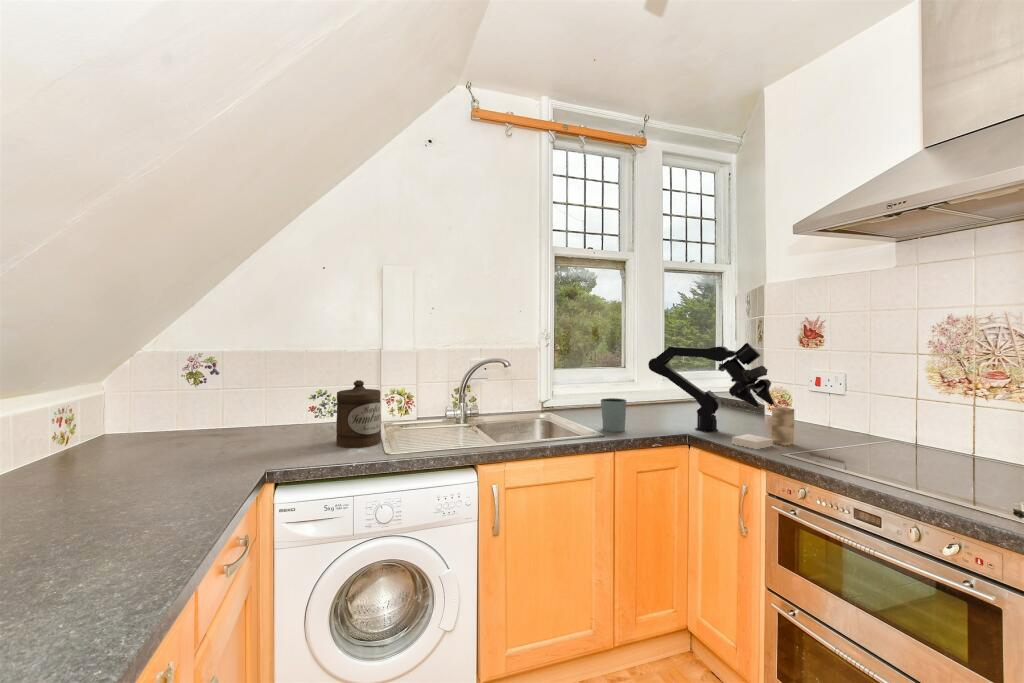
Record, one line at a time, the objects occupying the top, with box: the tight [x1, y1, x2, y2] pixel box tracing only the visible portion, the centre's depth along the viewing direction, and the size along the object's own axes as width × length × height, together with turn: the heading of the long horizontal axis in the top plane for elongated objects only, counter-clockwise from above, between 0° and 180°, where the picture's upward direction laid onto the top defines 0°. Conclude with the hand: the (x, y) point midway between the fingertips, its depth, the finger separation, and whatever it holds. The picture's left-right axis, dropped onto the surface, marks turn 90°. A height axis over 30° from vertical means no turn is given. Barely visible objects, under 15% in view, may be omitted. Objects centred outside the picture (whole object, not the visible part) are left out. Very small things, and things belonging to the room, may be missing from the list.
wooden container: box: [335, 379, 382, 449], centre depth 167 cm, size 15×15×22 cm
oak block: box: [771, 406, 795, 446], centre depth 168 cm, size 5×5×12 cm
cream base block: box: [731, 433, 774, 450], centre depth 165 cm, size 9×9×3 cm
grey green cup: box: [600, 397, 627, 433], centre depth 191 cm, size 10×10×12 cm
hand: (765, 405), depth 173 cm, fingers open, 9 cm apart
